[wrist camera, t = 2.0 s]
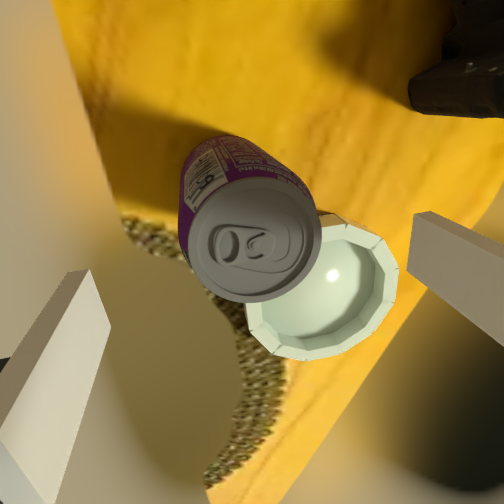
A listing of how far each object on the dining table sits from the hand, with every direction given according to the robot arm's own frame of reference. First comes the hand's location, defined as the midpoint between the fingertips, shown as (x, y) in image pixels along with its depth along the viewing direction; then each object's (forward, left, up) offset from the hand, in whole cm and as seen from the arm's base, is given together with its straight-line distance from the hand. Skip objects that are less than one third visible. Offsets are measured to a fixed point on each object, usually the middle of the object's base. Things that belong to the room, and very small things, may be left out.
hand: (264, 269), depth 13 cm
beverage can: (0, 0, -14) cm, 14 cm away
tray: (+11, +7, -14) cm, 19 cm away
